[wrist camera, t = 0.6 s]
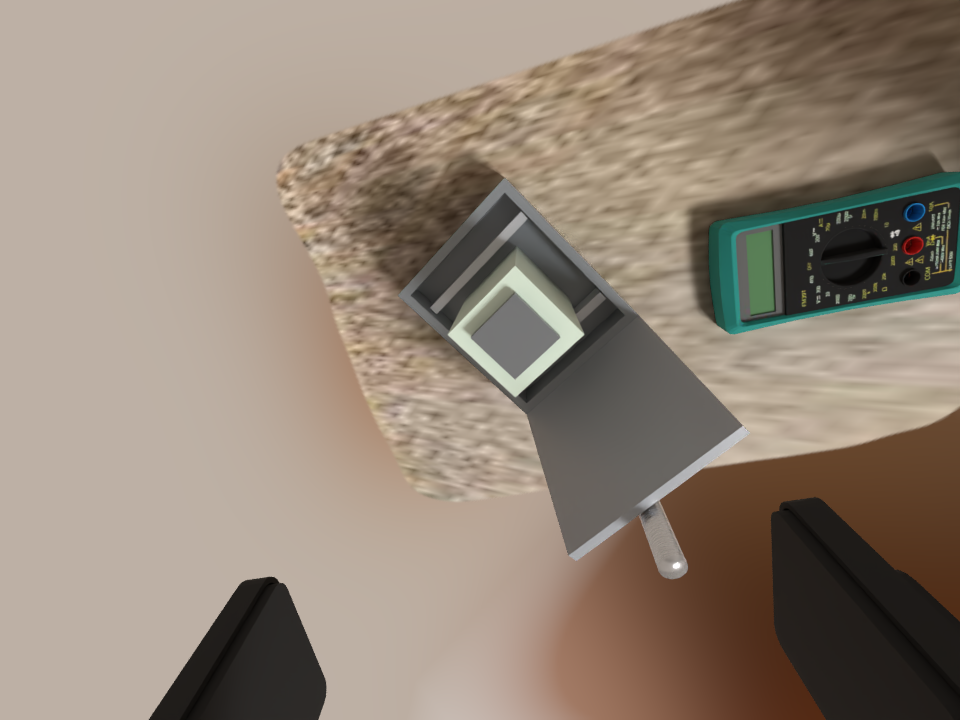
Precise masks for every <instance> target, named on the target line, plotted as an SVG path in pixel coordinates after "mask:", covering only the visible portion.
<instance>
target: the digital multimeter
mask: <svg viewBox="0 0 960 720" xmlns="http://www.w3.org/2000/svg"><path fill="white" fill-rule="evenodd" d="M946 188H947V189H946ZM932 191H933V192H932ZM927 192H928V193H927ZM918 194H919V195H918ZM913 195H914V196H913ZM908 196H909V197H908ZM899 198H900V199H899ZM883 238H884V239H883ZM709 275H710V287H711V294H712V301H713V307H714V313H715V318H716V323H717V325H718V326H719V327H721V328H722V329H724V330H725V331H727V332H728V333H730V334H738V333H742V332H746V331H751V330H755V329H759V328H764V327H768V326H772V325H777V324H781V323H786V322H790V321H794V320H799V319H804V318H809V317H814V316H819V315H824V314H829V313H834V312H839V311H845V310H850V309H855V308H862V307H868V306H874V305H881V304H887V303H893V302H900V301H906V300H913V299H920V298H927V297H935V296H942V295H949V294H956V293H958V292H960V172H941V173H937V174H933V175H930V176H926V177H922V178H918V179H915V180H911V181H907V182H903V183H899V184H896V185H891V186H887V187H883V188H879V189H875V190H871V191H867V192H863V193H858V194H854V195H850V196H846V197H842V198H838V199H833V200H828V201H823V202H818V203H813V204H808V205H803V206H798V207H793V208H788V209H784V210H778V211H772V212H766V213H761V214H755V215H749V216H743V217H737V218H731V219H726V220H720V221H716V222H714V223H712V225H711V226H710V229H709Z"/></svg>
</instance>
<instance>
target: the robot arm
mask: <svg viewBox="0 0 960 720" xmlns="http://www.w3.org/2000/svg"><path fill="white" fill-rule="evenodd" d="M771 534H772V567H773V596H774V597H773V598H774V625H775V631H776V634H777V637H778V640H779V642H780V645H781V646H782V648H783V650H784V652H785V653H786V655H787V657H788V658H789V660H790V662H791V663H792V665H793V666H794V668H795V670H796V671H797V673H798V675H799V676H800V678H801V679H802V681H803V683H804V684H805V686H806V688H807V689H808V691H809V692H810V694H811V696H812V697H813V699H814V701H815V702H816V704H817V705H818V707H819V709H820V710H821V712H822V714H823V715H824V717H825V718H826V720H960V622H959V621H958V620H957V619H956V618H955V617H954V616H953V615H952V614H951V613H950V612H949V611H948V610H947V609H946V608H944V607H943V606H942V605H941V604H940V603H939V602H938V601H937V600H936V599H935V598H934V597H933V596H932V595H931V594H930V593H928V592H927V591H926V590H925V589H924V588H923V587H922V586H921V585H920V584H919V583H918V582H917V581H916V580H914V579H913V578H912V577H910V576H909V575H908V574H906V573H904V572H902V571H899V570H894V568H893V567H891V566H890V565H889V564H888V563H887V562H886V561H885V560H884V559H883V558H882V557H881V556H880V555H879V554H878V553H877V552H876V551H875V550H874V549H873V548H872V547H871V546H870V545H869V544H867V543H866V542H865V541H864V540H863V539H862V538H861V537H860V536H859V535H858V534H857V533H856V532H855V531H854V530H853V529H852V528H851V527H850V526H849V525H848V524H847V523H846V522H845V521H843V520H842V519H841V518H840V517H839V516H838V515H837V514H836V513H835V512H834V511H833V510H832V509H831V508H830V507H829V506H828V505H827V504H826V503H825V502H824V501H822V500H821V499H819V498H816V497H814V498H807V499H800V500H793V501H786V502H783V503H781V505H780V509H779V511H777V512H773V513H772V515H771ZM325 698H326V681H325V678H324V675H323V673H322V670H321V668H320V666H319V663H318V661H317V658H316V656H315V653H314V651H313V649H312V646H311V644H310V642H309V639H308V637H307V634H306V632H305V629H304V627H303V625H302V623H301V620H300V617H299V615H298V613H297V611H296V608H295V606H294V603H293V601H292V598H291V596H290V594H289V591H288V589H287V587H286V585H285V584H283V583H279V582H278V580H277V579H276V578H275V577H266V578H259V579H252V580H246V581H244V582H242V583H241V584H240V585H239V586H238V588H237V589H236V591H235V592H234V593H233V595H232V597H231V598H230V600H229V601H228V602H227V604H226V605H225V607H224V609H223V610H222V611H221V613H220V614H219V616H218V617H217V619H216V620H215V622H214V623H213V625H212V626H211V628H210V629H209V631H208V632H207V634H206V635H205V637H204V638H203V640H202V641H201V643H200V644H199V646H198V647H197V649H196V650H195V652H194V653H193V655H192V656H191V658H190V659H189V661H188V662H187V664H186V665H185V667H184V668H183V670H182V671H181V672H180V674H179V675H178V677H177V679H176V680H175V681H174V683H173V684H172V686H171V687H170V689H169V690H168V692H167V693H166V695H165V696H164V698H163V699H162V701H161V702H160V704H159V705H158V707H157V708H156V710H155V711H154V713H153V714H152V716H151V717H150V719H149V720H318V719H319V716H320V713H321V710H322V707H323V705H324V701H325Z"/></svg>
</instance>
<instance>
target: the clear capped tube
mask: <svg viewBox="0 0 960 720" xmlns="http://www.w3.org/2000/svg"><path fill="white" fill-rule="evenodd" d="M639 517H640V520H641V523H642V525H643V528H644V531H645V534H646V537H647V539H648V542H649V545H650V548H651V550H652V553H653V556H654V559H655V562H656V564H657V567H658V570H659V572H660V574H661V575H662V576H664V577H665V578H669V579H676V578H679V577H681V576H683V575H684V574H685V573H686V572H687V569H688V565H687V562H686V560H685V558H684V555H683V553H682V551H681V548H680V546H679V544H678V542H677V539H676V537H675V535H674V533H673V530H672V528H671V526H670V523H669V521H668V519H667V517H666V514H665V512H664V510H663V508H662V506H661V503H660V501H657V502H656V503H655V504H653V505H652V506H650V507H649V508H648V509H646V510H645V511H644V512H642V513H641V514H640V515H639Z"/></svg>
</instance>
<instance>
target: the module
mask: <svg viewBox="0 0 960 720" xmlns="http://www.w3.org/2000/svg"><path fill="white" fill-rule="evenodd" d="M584 335H585V334H584V332H583V330H582V327H581V325H580V323H579V320H578V318H577V316H576V313H575V311H574V309H573V307H572V304H571V302H570V300H569V298H568V297H567V296H566V295H565V294H564V293H563V292H562V291H561V290H560V289H559V288H558V287H557V286H556V285H555V284H554V283H553V282H552V281H551V280H550V279H549V278H548V277H547V276H546V275H545V274H544V273H543V272H542V271H541V270H540V269H539V268H538V267H537V266H536V265H535V264H534V263H533V262H532V261H531V260H530V259H529V258H528V257H527V256H526V255H525V254H524V253H523V252H522V251H521V250H520V249H519V248H518V247H517V246H516V247H515V248H514V249H513V250H512V251H511V252H510V254H509V255H508V256H507V257H506V258H505V259H504V260H503V261H502V262H501V263H500V264H499V265H498V266H497V267H496V268H495V269H494V270H493V271H492V272H491V273H490V274H489V275H488V276H487V277H486V278H485V279H484V280H483V281H482V283H481V284H480V285H479V286H478V287H477V288H476V289H475V290H474V291H473V292H472V293H471V294H470V295H469V296H468V297H467V298H466V299H465V301H464V303H463V305H462V307H461V309H460V311H459V313H458V315H457V317H456V319H455V321H454V323H453V325H452V327H451V329H450V331H449V333H448V336H449V337H450V338H452V339H453V340H454V341H455V342H456V343H457V344H458V345H459V346H460V347H461V348H462V349H463V350H464V351H466V352H467V353H468V354H469V355H470V356H471V357H472V358H473V359H474V360H475V361H476V362H477V363H479V364H480V365H481V366H482V367H483V368H484V369H485V370H486V371H487V372H488V373H489V374H490V375H492V376H493V377H494V378H495V379H496V380H497V381H498V382H499V383H500V384H501V385H502V386H503V387H504V388H506V389H507V390H508V391H509V392H510V393H511V394H512V395H513V396H514V397H516V396H518V395H519V394H520V393H521V392H522V391H523V390H524V389H525V388H526V387H527V386H529V385H530V384H531V383H532V382H533V381H534V380H535V379H536V378H537V377H538V376H540V375H541V374H542V373H543V372H544V371H545V370H546V369H547V368H548V367H549V366H551V365H552V364H553V363H554V362H555V361H556V360H557V359H558V358H559V357H560V356H562V355H563V354H564V353H565V352H566V351H567V350H568V349H569V348H570V347H571V346H573V345H574V344H575V343H576V342H577V341H578V340H579V339H580V338H581V337H582V336H584Z"/></svg>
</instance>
